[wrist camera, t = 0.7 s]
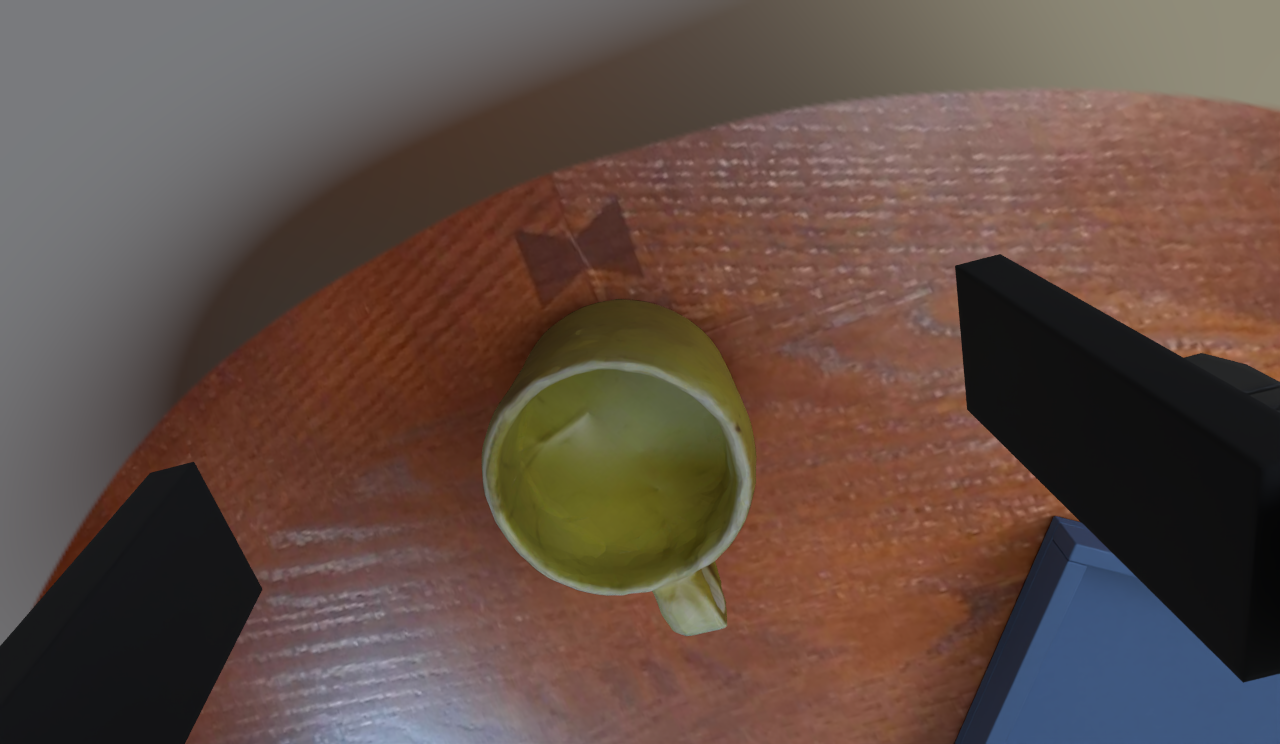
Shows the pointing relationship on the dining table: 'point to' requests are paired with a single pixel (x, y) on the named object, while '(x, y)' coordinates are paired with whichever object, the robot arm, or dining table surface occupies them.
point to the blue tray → (1108, 663)
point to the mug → (624, 459)
